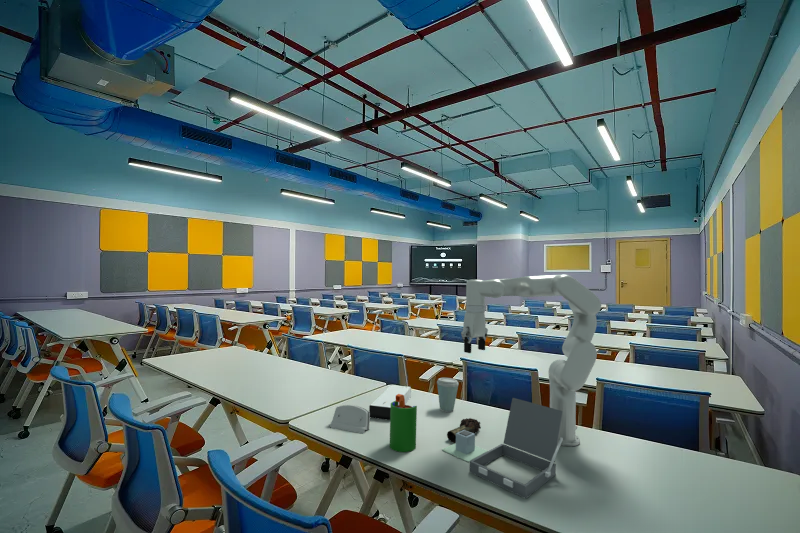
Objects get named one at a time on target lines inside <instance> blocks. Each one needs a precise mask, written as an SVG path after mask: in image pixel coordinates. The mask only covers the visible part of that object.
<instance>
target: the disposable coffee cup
mask: <svg viewBox="0 0 800 533" xmlns="http://www.w3.org/2000/svg"><path fill="white" fill-rule="evenodd" d="M436 385H437V392H438V393H437V395H438V403H439V404H438V405H439V409H440V411H441V412H444V413H451V412H453V411H454V408H455V404H456V400H457V393H458V388H459V382H458V380H457V379H456V378H455V379H454V378H451V377H440V378H437V381H436Z"/></svg>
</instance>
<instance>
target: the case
mask: <svg viewBox="0 0 800 533" xmlns="http://www.w3.org/2000/svg"><path fill="white" fill-rule="evenodd" d="M562 440H563V438H560V440H559V443H558V445H557V448H556V450H555V453H554V455H553V458H552V460H551V461H549V460H546V459H544V458H541V457H538V456H536V455H533V454H530V453H528V452H525V451H522V450H520V449H517V448H514V447H512V446H509V445H506V444H504V443H500V444H499V445H497V446H495V447H493V448H491V449H489V450H487V452H486V453H484V454H482V455H480V456H478V457H476V458H475V459H473V460H471V461H470V462H469V473H470V474H473V475H475V476H477V477H480V478H481V479H483V480H485V481H488V482H489V483H492V484H493V485H496V486H498V487H500V488H502V489H503V490H507V491H508V492H511V493H513V494H515V495H517V496H519V497H520V498H523V499H528V497H530V496H531V495H533V493H535V492H536V491H537V490H539V489H540V488H541V487H542V486H544V485H546V483H547V482H549V481H550V480H551V479H552V478H553V477H555V476H556V474H557V472H556V471H557V470H556V469H557V468H556V467H557V466H556V465H557V464H556V463H554V460H555V461H556V458H557V455H558V453H559V450H560V447H561V446H562V445H561V442H562ZM501 456H505V457H507V458H510V459H512V460H515V461H517V462H519V463H522V464H525V465H527V466H530V467H532V468H534V469H536V470H537V469H538V470H540V471H541V472H539V473H538V474H536V475H535V476H534V477H533V478H531V479H529V481H527V482H525V484H524V483H522V482H521V481H518V480H516V479H513V478H511V477H509V476H507V475H505V474H502V473H500V472H498V471H495V470H493V469H491V468H488V467H486V465H488V464H489V463H491V462H493V461H495V460H496V459H498V458H500V457H501Z"/></svg>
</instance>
